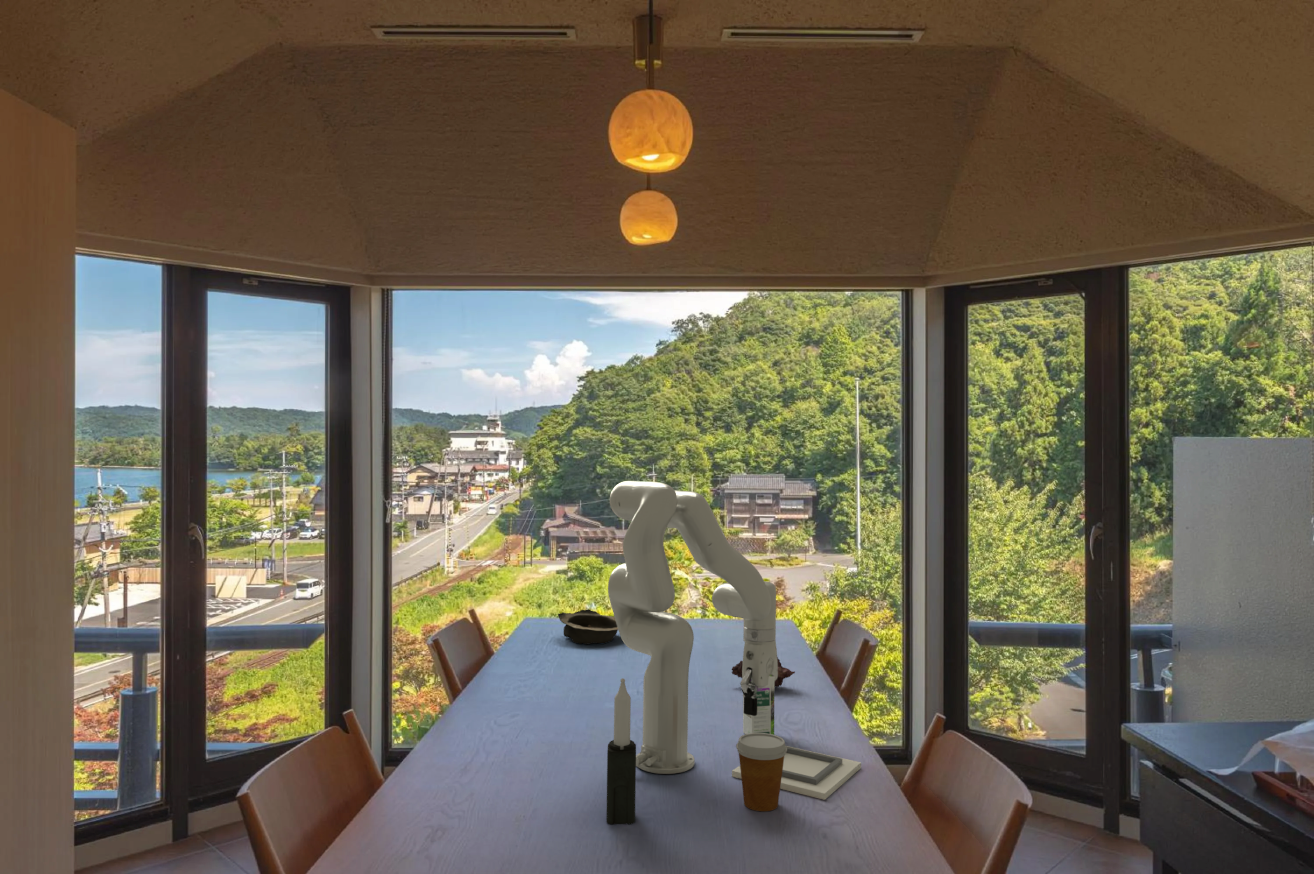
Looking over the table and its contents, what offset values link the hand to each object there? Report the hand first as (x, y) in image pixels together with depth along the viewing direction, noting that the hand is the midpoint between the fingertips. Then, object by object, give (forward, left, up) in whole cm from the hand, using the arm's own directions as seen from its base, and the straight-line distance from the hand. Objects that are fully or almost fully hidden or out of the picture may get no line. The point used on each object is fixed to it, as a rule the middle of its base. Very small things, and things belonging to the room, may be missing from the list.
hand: (758, 709), depth 197 cm
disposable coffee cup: (-35, -18, -6) cm, 40 cm away
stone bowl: (+57, +93, -6) cm, 109 cm away
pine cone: (+37, +17, -6) cm, 41 cm away
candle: (-55, 0, -6) cm, 55 cm away
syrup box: (0, 0, -6) cm, 6 cm away
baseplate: (-16, -17, -6) cm, 24 cm away
